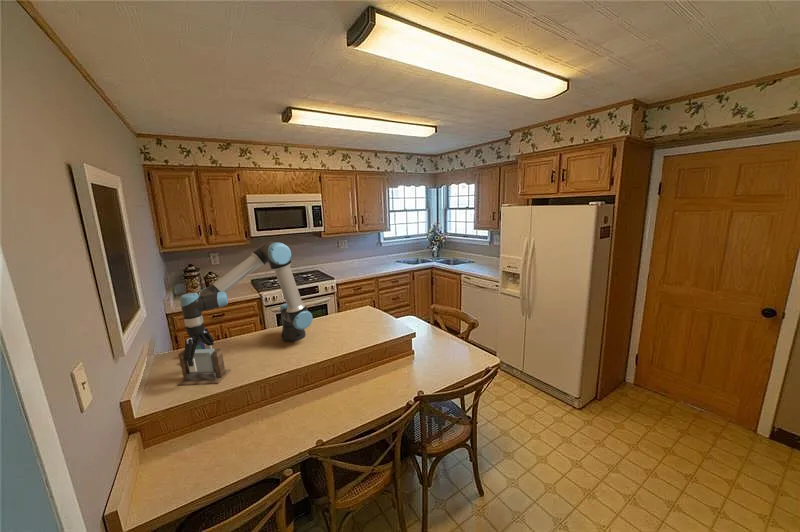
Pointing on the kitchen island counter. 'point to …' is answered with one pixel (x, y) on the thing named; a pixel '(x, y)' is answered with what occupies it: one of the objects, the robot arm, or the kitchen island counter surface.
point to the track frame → (203, 377)
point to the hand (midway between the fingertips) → (202, 364)
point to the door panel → (204, 361)
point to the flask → (200, 345)
